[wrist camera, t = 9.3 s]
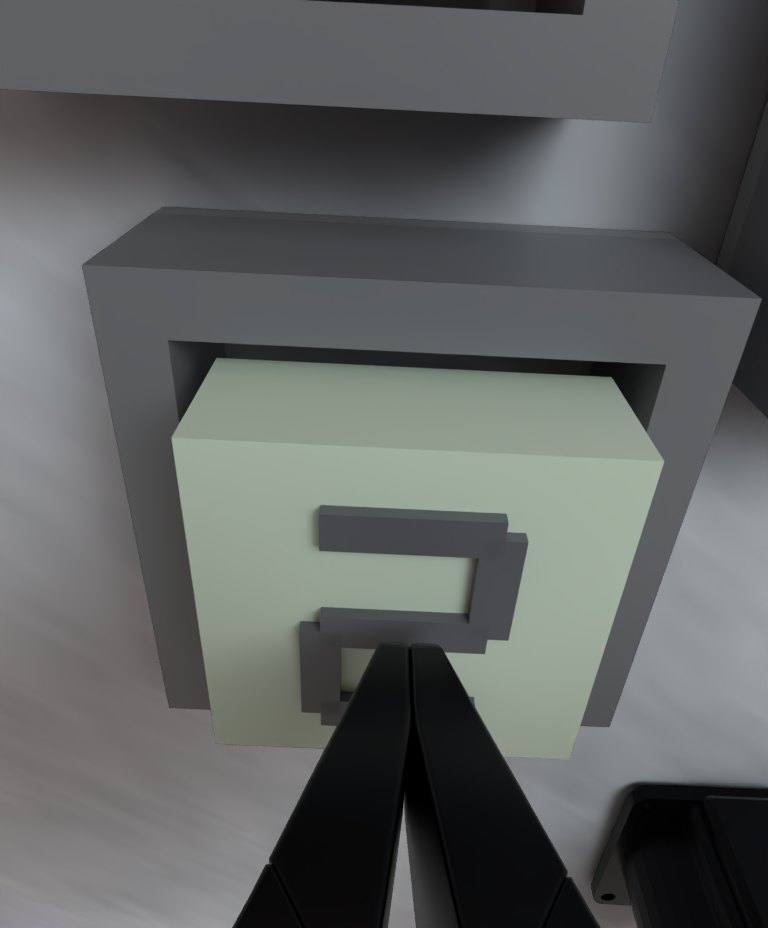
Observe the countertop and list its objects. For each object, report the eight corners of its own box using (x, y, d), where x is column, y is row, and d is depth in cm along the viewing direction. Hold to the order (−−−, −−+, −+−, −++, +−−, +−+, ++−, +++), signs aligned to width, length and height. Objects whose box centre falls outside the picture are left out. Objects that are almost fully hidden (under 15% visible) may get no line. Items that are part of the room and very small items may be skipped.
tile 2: (543, 650, 13) (572, 770, 11) (243, 636, 13) (213, 754, 11) (611, 377, 10) (669, 469, 8) (216, 358, 10) (166, 446, 8)
